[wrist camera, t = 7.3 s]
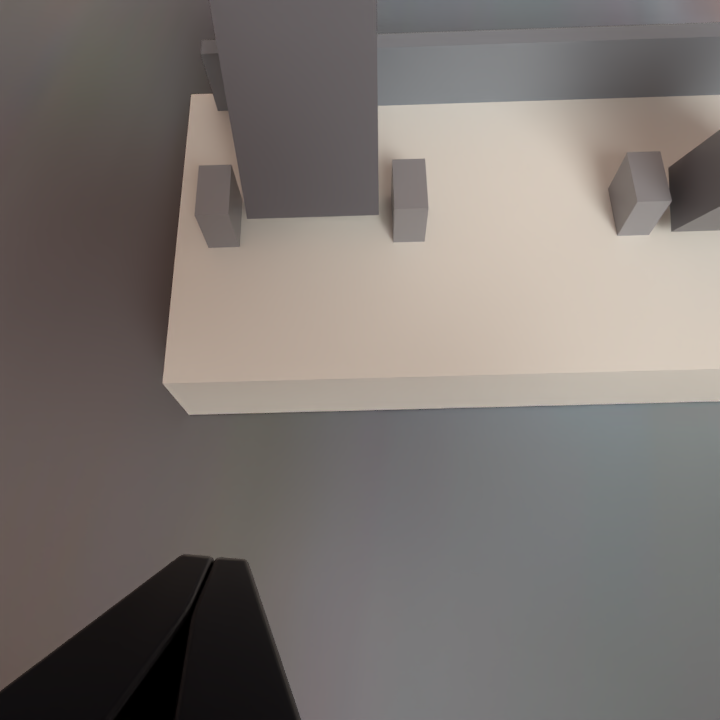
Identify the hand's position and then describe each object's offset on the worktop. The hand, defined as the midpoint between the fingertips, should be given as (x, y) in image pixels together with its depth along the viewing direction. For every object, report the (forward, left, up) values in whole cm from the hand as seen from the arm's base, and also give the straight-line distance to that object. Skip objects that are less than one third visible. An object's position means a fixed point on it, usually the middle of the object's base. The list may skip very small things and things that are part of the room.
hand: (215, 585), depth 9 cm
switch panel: (+8, -11, -12) cm, 18 cm away
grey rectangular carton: (+11, -5, -9) cm, 15 cm away
